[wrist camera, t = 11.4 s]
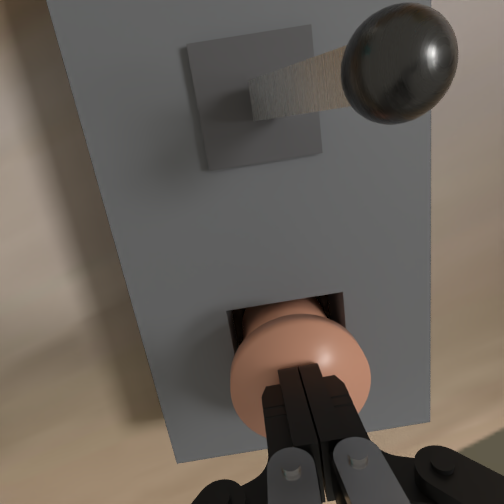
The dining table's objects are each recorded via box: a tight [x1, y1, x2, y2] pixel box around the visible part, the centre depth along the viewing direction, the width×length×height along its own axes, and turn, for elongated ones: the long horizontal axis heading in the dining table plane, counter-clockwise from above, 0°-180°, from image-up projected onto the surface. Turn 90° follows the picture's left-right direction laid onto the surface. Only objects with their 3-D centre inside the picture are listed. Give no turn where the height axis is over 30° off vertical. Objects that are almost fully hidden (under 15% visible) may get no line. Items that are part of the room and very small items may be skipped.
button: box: [230, 296, 371, 438], centre depth 16 cm, size 5×5×5 cm
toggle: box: [248, 2, 458, 125], centre depth 9 cm, size 2×2×6 cm
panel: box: [46, 0, 431, 464], centre depth 14 cm, size 12×30×4 cm, turn 9°
